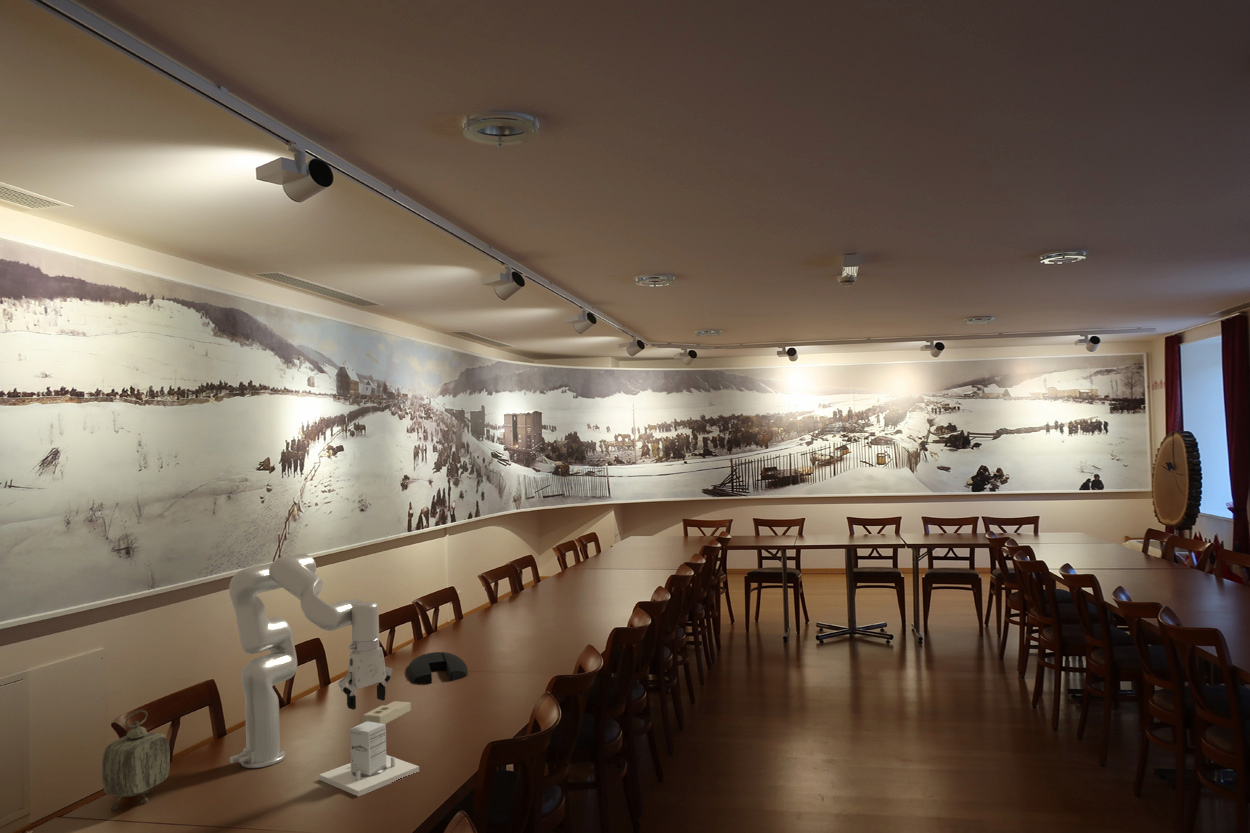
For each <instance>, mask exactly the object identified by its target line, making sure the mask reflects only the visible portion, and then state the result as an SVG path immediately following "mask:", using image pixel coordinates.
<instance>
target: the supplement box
mask: <svg viewBox="0 0 1250 833" xmlns="http://www.w3.org/2000/svg"><path fill="white" fill-rule="evenodd" d="M386 726H387V724H381V723H375V722H369V721H367V722H364V723H363V722H361V723H360V724H358V725H356V726H353V727H352V728H350V729H349V735H350V742H349V743H350V744H349V745H350V763H351V772H355V773H356V771H357V770H360V774H365V775H368V776H370V775H372V774H374V773H376V772H378V771H380V770H381V769H383V768H385V767H386V766H387V764H386V755H387V728H386Z"/></svg>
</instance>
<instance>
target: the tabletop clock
mask: <svg viewBox="0 0 1250 833" xmlns="http://www.w3.org/2000/svg"><path fill="white" fill-rule="evenodd" d="M139 713H143V714H144V715H145V717H144V719H143V720H142V721H140V722H139V720H136V721H134V723H133V725H131V724H130V725H129V724H128V721H129V719H130V718H131V717H132V716H134V715H136V714H139ZM148 714H149V713H148V712H147V711H146V710H144V709H139V710H136V711H133V712H131V713H130V714H128V716H127V717H126V719H125V721H124V724H125V726H126V728H129V730H128V731H127V733H126V735H125V736H122V737H120V738H119V739H116V740H115V741H113V742H111V743H110V744H108V745H107V746H105V748H104V752H103V754H102V762H101V764H102V765H101V778H102V780H101V781H102V787H103V791H104V793H105V795H110V796H111V795H112V796H118V797H117V798H116V801H115V802H114V803H112V804H111V805H110V807H109V808H110V810H111V811H115V810H117V808H118V804H119V803H120V801H121V800H122V798H123V797H130V798H131V797H135V796H138V795H140V794H141V796H142V798H141V800H140V802H141V803H142V804H143V803H144V804H146V802H147V803H148V802H149V798H148V797H147V796H146V794H149V793H151V791H152V788H154V787H156V786H158V785H160V784H162V783H163V782H164V781H165V780H166V779H167V778H168V777H169V774H170V769H171V768H170V767H171V766H170V765H171V764H170V762H171V753H170V752H171V750H170V742H169V739H168V737H167V736H166V733H161V732H160V733H159V732H148V731H147V729H146V728H145V727H144V726H141V725H143V723H145V722H146V720H147V719H148V716H149V715H148ZM130 728H131V729H130Z"/></svg>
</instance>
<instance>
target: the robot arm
mask: <svg viewBox="0 0 1250 833" xmlns="http://www.w3.org/2000/svg"><path fill="white" fill-rule="evenodd" d="M316 572H317V564H316V560H314V557H312V556H310V555H309V554H307V553H297V554H296V553H295V554H292V555H285V556H282V557H279V558H277V559H275V560H273V561H272V562H271V563H266V564H260V565H259V564H258V565H254V566H253V565H252V566H250V567H249V566H248V567H247V568H244V569H243V568H242V569H241V570H239V571H237V572H236V573H235V574H233V576H232V577H231V580H230V582H229V586H228V590H229V591H228V592H229V597H230V602H231V603H232V606H233V609H234V612H235V617H236V623H237V630H238V634H239V635H238V636H239V641H240V645H241V648H242V650H243V652H244V653H246V654H247V655H257V654H260V653H263V652H266V651H269V652H270V653H269V654H265V655H263V656H258V657H257V658H254V659H252V660H250V661H248V662H247V663H246V664H244V666H243V667H242V670H241V672H240V680H241V685H242V690H243V695H244V707H245V708H244V712H245V714H244V715H245V741H246V742H245V747H244V748H242V752H240V753H239V754H236V755H235V754H234V755H231V756H230V757H229V762H230V763H231V764H234V763H236V762H238V763H240V765H241V766H242V767H243V768H247V769H248V768H249V769H256V768H257V769H258V768H264V767H269V766H272V765H275V764H278V763H280V762H282V761H283V760H284V759H285V758H286V756H287V754H286V751H285V750H283V749H281V739H280V735H281V734H280V733H281V732H280V730H281V728H280V703H279V702H280V701H279V697H278V695H277V693H276V692H275V689H274V688H273V687H274V685H276V684H280V683H283V682H284V681H288V680H289V679H292V677H294V676H295V674H296V672H297V670H298V658H297V657H298V656H297V651H296V647H295V640H294V636H293V631H292V630H293V629H292V628H291V625H290V624H289V622H288V621H287V620H286V619H285V618H283V617H280V616H279V617H278V616H275V617H269V618H268V615H267V610H266V606H265V604H264V602H263V601H262V599H261V598H260V597H259V596H258V594H260V593H265V592H269V591H274V590H278V589H284V590H285V591H287V592H288V593H289V594H291V595H293V596H294V597H295V598H296V599H298V600H299V601H300V602H299V603H300V608H301V610H302V613H303V614H304V617H305V618H306V619H308V621H309V622H311V623H313V625H314V626H316V627H318V628H320V629H322V630H324V631H326V632H327V631H330V632H332V631H335V630H338V629H342V628H345V627H348V626H351V639H352V641H351V644H349V645H348V649H349V650H351V651H350V653H349V657H348V667H347V674H346V675H345V676H344V677H342V678H341V679H340V680H339V681H338V683H337V684H338V687H339V688H340V690H341V692H343V693H344V695H346V706H347V708H348V709H350V710H353V711H354V710H356V709H357V698H356V697H357V696H356V695H355V693H356V692H357V689H363V688H366V687H370V686H374V685H376V684H378V685H376V699H377V700H379V701H382V702H384V701H385V700H386V687H387V686H388V682H390V679H391V675H392V673H393V670H394V669H393V668H391V667H389V666H386V663H385V657H384V651H383V647H381V646H380V618H379V616H380V615H379V614H380V613H379V611H380V610H379V609H380V608H379V604H378V603H377V602H376V601H363V600H359V599H355V598H348V599H345V600H340V601H336V602H332V603H327V602H325V601H324V600H322V599H321V598H320V597H319V594H320V593H321V591H322V589H323V585H324V583H323V580H322V578H321V577H320V576H318V574H316ZM347 684H348V687H347Z"/></svg>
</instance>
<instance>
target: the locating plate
mask: <svg viewBox="0 0 1250 833" xmlns="http://www.w3.org/2000/svg"><path fill="white" fill-rule="evenodd" d="M386 764H387V766H386V767H385V768H383V769H381V770H380V771H378V772H376V773H374V774H372V775H370V776H368V775H365V774H360V770H357V771H356V773H355V772H351V762H350V763H347V764H344V765H341V766H339V767H338V766H337V767H336V768H332V769H331V770H328V771H325V772H323V773H319V778H318V779H319V781H322V782H323V783H326V784H328V785H330V786H333V787H335V788H338V789H339V790H342V791H345V792H347V793H348V794H352V795H354V796H357V797H361V796H364V795H366V794H368V793H370V792H373V791H375V790H377V789H380V788H383V787H385V786H388V785H391V784H393V783H395V782H397V781H396V780H398V779H400V778H402V779H404V778H403V777H405V776H407V777H409V776H408V775H410V776H412V775H414V774H413V773H415V774H417V773H419V772H420V766H419V765H416V764H414V763H410V762H407V761H405V760H402V759H400V758H397V757H395V756H391V755H388V754H386ZM416 772H417V773H416ZM411 774H412V775H411ZM405 778H406V777H405ZM400 780H401V779H400ZM394 781H395V782H394ZM398 781H399V780H398ZM392 782H393V783H392Z"/></svg>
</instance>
